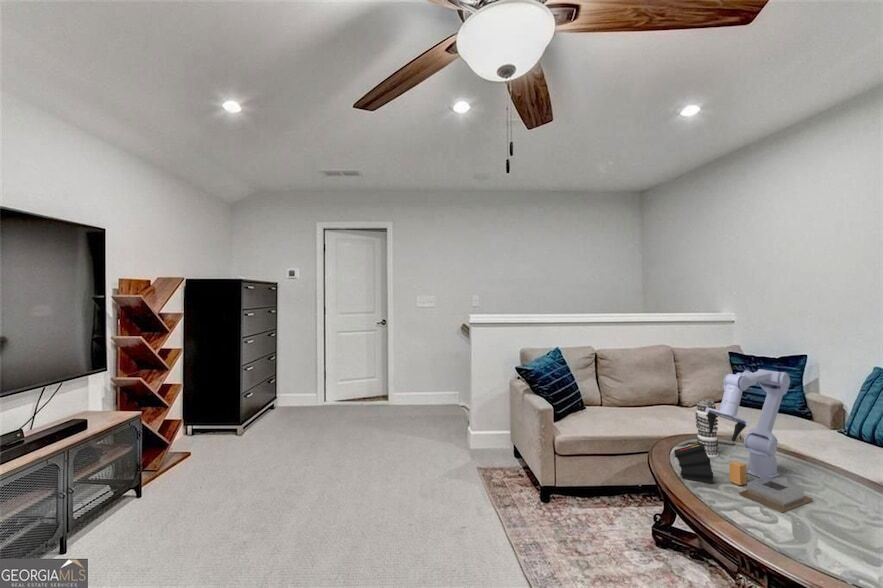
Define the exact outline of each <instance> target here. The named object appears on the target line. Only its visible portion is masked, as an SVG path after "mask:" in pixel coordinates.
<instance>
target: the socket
mask: <svg viewBox="0 0 883 588" xmlns="http://www.w3.org/2000/svg"><path fill="white" fill-rule="evenodd" d="M739 496H740V497H741V496H742V497H743V498H745V499H748V500H751V501H752V502H753V501H754V502H756V503H758V504H760V505H762V506H765V507H767V508H770V509H772V510H775V511H777V512H779V513H781V514H782V513H785V512H788V511H790V510H793V509H797V508H799V507H800V506H803V504H804V505H806V504H809V503H811V502H814V501H813V498H812V497H809V496H807V495H805V489H804V488H801V487H798V486H796V485H794V484H793V485H792V484H790V483H787V482H785V481H782V480H779V479H776V478H775V477H773V478H771V477H768V476H766V477H763V478H757V479H754V480H750V481H747V483H746V489H745V490H742V491H740V492H739ZM798 506H799V507H798Z"/></svg>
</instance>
